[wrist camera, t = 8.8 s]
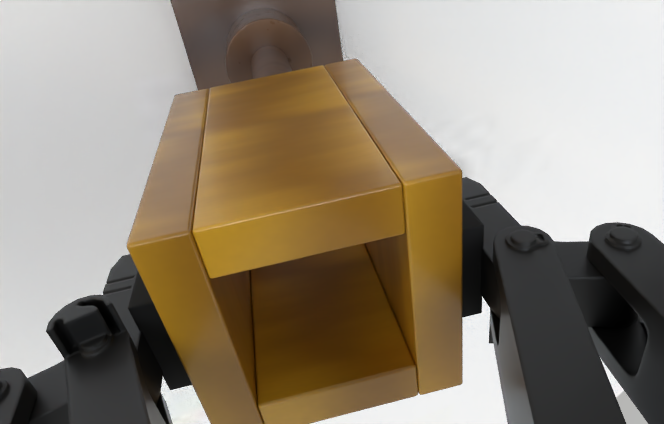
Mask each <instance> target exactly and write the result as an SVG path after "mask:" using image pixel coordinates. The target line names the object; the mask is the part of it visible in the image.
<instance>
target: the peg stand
mask: <svg viewBox="0 0 664 424" xmlns="http://www.w3.org/2000/svg"><path fill="white" fill-rule="evenodd" d="M171 3H172V7H173V10H174V13H175V16H176V20H177V23H178V26H179V29H180V33H181V36H182V39H183V42H184V46H185V49H186V52H187V55H188V59H189V62H190V65H191V69H192V72H193V75H194V78H195V82H196V85H197V88H198V90H202V89H209V90H210V88H212V87H217V86H222V85H227V84H232V83H237V82H242V81H246V80H251V79H256V78H261V77H266V76H271V75H276V74H281V73H286V72H291V71H296V70H301V69H306V68H311V67H316V66H321V65H323V66H325V65H326V64H331V63H336V62H341V61H343V57H342V50H341V42H340V35H339V28H338V20H337V13H336V5H335V0H171Z"/></svg>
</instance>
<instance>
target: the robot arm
mask: <svg viewBox="0 0 664 424" xmlns="http://www.w3.org/2000/svg"><path fill="white" fill-rule="evenodd" d="M482 296H483V298H484V299H485V301H486V302H487V304H488V305H489V307H490V330H489V343H494V348H495V354H496V360H497V365H498V371H499V377H500V382H501V388H502V394H503V399H504V405H505V411H506V416H507V422H508V424H626V422H625V419H624V417H623V414H622V412H621V410H620V407H619V404H618V402H617V400H616V397H615V394H614V392H613V389H612V387H611V384H610V382H609V379H608V377H607V374H606V372H605V369H604V367H603V364H602V362H601V359H602V361H603V362H604V363H605V365H606V366H607V367H608V369H609V370H610V372H611V373H612V374H613V376H614V377H615V378H616V380H617V381H618V383H619V384H620V385H621V387H622V388H623V389H624V391H625V392H626V393H627V395H628V396H629V398H630V399H631V400H632V402H633V403H634V404H635V406H636V407H637V409H638V410H639V411H640V413H641V414H642V415H643V417H644V418H645V420H646V421H647V422H648V424H664V244H663V243H662V242H661V241H659V240H658V239H657V238H656V237H655V236H654V235H652V234H651V233H649V232H648V231H646V230H644V229H643V228H640V227H637V226H634V225H631V224H626V223H618V222H617V223H605V224H602V225H599V226H596V227H595V228H594V229H593V230H592V231H591V233H590V238H589V242H555V241H553V240H552V239H551V237H550V236H549V235H548V234H547V233H545V232H544V231H542V230H540V229H537V228H534V227H530V226H521V225H520V224H519V223H518V222H517V221H516V220H515V219H514V218H513V217H512V216H511V215H510V214H509V213H508V212H507V211H506V210H505V209H504V208H503V207H502V205H501V204H500V203H499V202H498V203H497V200H496V199H495V198H494V197H493V196H492V195H490V193H489V192H488V191H487V190H486V189H485V188H484V187H483V186H482V185H481V184H480V183H478V182H476V181H473V180H471V179H469V178H467V177H465V178H462V317H466V316H470V315H474V314H478V313H482ZM46 332H47V333H48V335H49V336H50V338H51V339H52V341H53V342H54V344H55V345H56V347H57V348H58V350H59V351H60V353H61V354H62V356H63V357H64V361H62V362H60V363H58V364H57V365H55V366H53V367H51V368H48V369H46V370H44V371H42V372H40V373H38V374H36V375H33V376H31V377H29V378H27V377H26V376H25V375H24V373H23V372H22V371H21V369H17V368H12V367H11V368H5V369H0V424H172V420H171V417H170V414H169V410H168V407H167V404H166V402H165V400H164V398H163V396H162V394H161V392H160V390H161V384H162V377H164V379H165V381H166V383H167V385H168V387H169V389H170V390H173V389H177V388H181V387H185V386H189V385H192V383H191V381H190V379H189V377H188V375H187V373H186V371H185V368H184V366H183V364H182V362H181V360H180V358H179V356H178V354H177V352H176V349H175V347H174V345H173V343H172V341H171V339H170V337H169V335H168V333H167V331H166V328H165V326H164V324H163V322H162V320H161V318H160V316H159V314H158V312H157V310H156V307H155V305H154V303H153V301H152V299H151V297H150V295H149V293H148V291H147V289H146V286H145V284H144V282H143V280H142V278H141V276H140V274H139V272H138V270H137V268H136V265H135V263H134V261H133V259H132V257H131V255H130V254H129V255H125V256H122V257H121V258H120V259H119V260H118V262H117V263H116V264H115V265H114V266H113V267H112V269H111V271H110V273H109V276H108V279H107V284H106V285H105V288H104V291H103V295H90V296H87V297H83V298H80V299H77V300H75V301H74V302H72V303H70V304H68V305H66V306H65V307H63V308H62V309H61V310H60V311H58V312H57V313H56V314H55V315H54V316H53V318H52V319H51V320H50V322H49V323H48V326H47V330H46ZM599 356H600V357H599ZM600 358H601V359H600Z"/></svg>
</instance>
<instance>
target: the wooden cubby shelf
mask: <svg viewBox="0 0 664 424" xmlns="http://www.w3.org/2000/svg"><path fill="white" fill-rule="evenodd" d="M127 249H128V251H129V253H130V255H131V257H132V259H133V261H134V263H135V265H136V268H137V270H138V272H139V274H140V276H141V278H142V280H143V282H144V284H145V286H146V289H147V291H148V293H149V295H150V297H151V299H152V301H153V303H154V305H155V307H156V310H157V312H158V314H159V316H160V318H161V320H162V322H163V324H164V326H165V328H166V331H167V333H168V335H169V337H170V339H171V341H172V343H173V345H174V347H175V349H176V352H177V354H178V356H179V358H180V360H181V362H182V364H183V366H184V368H185V371H186V373H187V375H188V377H189V379H190V381H191V383H192V385H193V387H194V389H195V392H196V394H197V396H198V398H199V400H200V402H201V404H202V406H203V408H204V410H205V413H206V415H207V417H208V419H209V421H210V423H211V424H310V423H314V422H317V421H321V420H325V419H329V418H333V417H337V416H341V415H344V414H348V413H352V412H356V411H360V410H364V409H367V408H371V407H375V406H379V405H383V404H387V403H391V402H394V401H398V400H402V399H406V398H410V397H414V396H416V395H418V393H419V394H420V395H423V394H427V393H430V392H434V391H438V390H442V389H446V388H450V387H454V386H457V385H461V384H462V170H461V169H460V168H459V167H458V166H457V164H456V163H455V162H454V161H453V160H452V159H451V158H450V157H449V156H448V155H447V154H446V153H445V152H444V151H443V150H442V149H441V147H440V146H439V145H438V144H437V143H436V142H435V141H434V140H433V139H432V138H431V137H430V136H429V135H428V134H427V133H426V132H425V130H424V129H423V128H422V127H421V126H420V125H419V124H418V123H417V122H416V121H415V120H414V119H413V118H412V117H411V116H410V115H409V113H408V112H407V111H406V110H405V109H404V108H403V107H402V106H401V105H400V104H399V103H398V102H397V101H396V100H395V99H394V98H393V97H392V95H391V94H390V93H389V92H388V91H387V90H386V89H385V88H384V87H383V86H382V85H381V84H380V83H379V82H378V81H377V80H376V78H375V77H374V76H373V75H372V74H371V73H370V72H369V71H368V70H367V69H366V68H365V67H364V66H363V65H362V64H361V63H360V61H359V60H358V59H351V60H346V61H341V62H336V63H331V64H326V65H325V66H323V65H321V66H316V67H311V68H306V69H301V70H296V71H291V72H286V73H281V74H276V75H271V76H266V77H261V78H256V79H251V80H246V81H242V82H237V83H232V84H227V85H222V86H217V87H212V88H210V90H209V89H202V90H197V91H192V92H187V93H183V94H178V95H175V96H174V99H173V102H172V105H171V108H170V112H169V115H168V118H167V121H166V124H165V127H164V130H163V133H162V136H161V140H160V143H159V146H158V149H157V152H156V155H155V158H154V161H153V164H152V167H151V171H150V174H149V177H148V180H147V183H146V186H145V189H144V192H143V195H142V199H141V202H140V205H139V208H138V211H137V214H136V217H135V220H134V223H133V226H132V230H131V233H130V236H129V239H128V242H127Z"/></svg>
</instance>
